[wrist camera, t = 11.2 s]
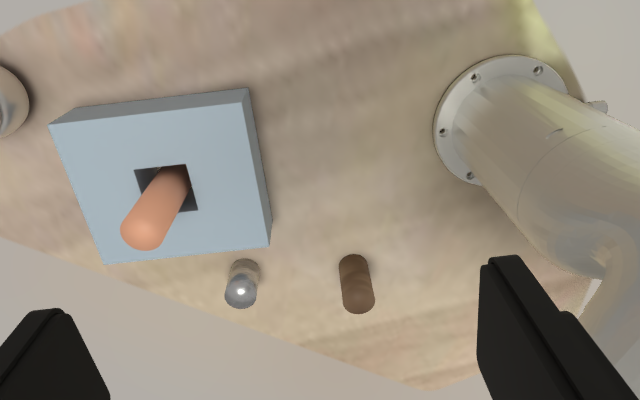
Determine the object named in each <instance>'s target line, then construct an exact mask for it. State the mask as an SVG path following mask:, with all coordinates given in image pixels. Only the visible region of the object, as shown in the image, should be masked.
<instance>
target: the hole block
mask: <svg viewBox="0 0 640 400" xmlns="http://www.w3.org/2000/svg"><path fill="white" fill-rule="evenodd" d="M47 126H48V129H49V131H50V134H51V136H52V139H53V141H54V143H55V146H56V148H57V151H58V153H59V156H60V158H61V161H62V163H63V166H64V168H65V170H66V173H67V175H68V178H69V180H70V183H71V185H72V188H73V190H74V193H75V195H76V197H77V200H78V202H79V205H80V207H81V210H82V212H83V215H84V217H85V220H86V222H87V224H88V227H89V229H90V232H91V234H92V237H93V239H94V242H95V244H96V247H97V249H98V251H99V254H100V256H101V259H102V261H103V264H104V265H107V264H116V263H125V262H134V261H144V260H153V259H162V258H171V257H180V256H189V255H199V254H208V253H217V252H226V251H235V250H245V249H254V248H263V247H269V245H270V237H271V229H272V221H273V220H272V215H271V209H270V204H269V198H268V193H267V187H266V182H265V176H264V171H263V165H262V160H261V155H260V149H259V144H258V138H257V133H256V127H255V122H254V116H253V111H252V105H251V100H250V94H249V89H248V88H241V89H232V90H224V91H215V92H207V93H198V94H190V95H181V96H173V97H164V98H156V99H147V100H138V101H130V102H121V103H113V104H104V105H96V106H87V107H79V108H74V109H72V110H71V111H69V112H67V113H66V114H64V115H63V116H61V117H59V118H58V119H56V120H54V121H53V122H51V123H49V124H48V125H47ZM179 164H186V166H187V169H188V173H189V177H190V181H191V184H192V188H191V189H190V190H189V192H188V194H187V196H186V198H185V200H184V201H183V203H182V205H181V207H180V209H179V211H178V213H177V215H176V217H175V219H174V221H173V223H172V225H171V227H170V228H169V230H168V232H167V234H166V236H165V238H164V240H163V242H162V244H161V245H160V246H159V247H158V248H156V249H154V250H150V251H141V250H137V249H134V248H132V247H131V246H129V245H128V244H127V243H126V242H125V241H124V240H123V238H122V237H121V234H120V226H121V223H122V221H123V220H124V219H125V217H126V216H127V215H128V213H129V212H130V210H131V209H132V208H133V206H134V205H135V203H136V202H137V201H138V199H139V198H140V196H141V195H142V194H143V192H144V191H145V189H146V188H147V187H148V185H149V184H150V183H151V181H152V180H153V178H154V177H155V176H156V174H157V173H158V171H157V167H162V166H171V165H179Z"/></svg>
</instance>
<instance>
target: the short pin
mask: <svg viewBox="0 0 640 400" xmlns="http://www.w3.org/2000/svg"><path fill="white" fill-rule="evenodd" d="M259 274H260V268H259V266H258V264H257V263H256V262H254V261H253V260H250V259H239V260H237V261H235V262H234V263H233V265H232V267H231V271H230V275H229V279H228V283H227V287H226V291H225V300H226V302H227V303H228V304H229V305H230V306H232V307H234V308H238V309H245V308H248V307H250V306H252V305H253V304H254V302H255V300H256V295H257V288H258V281H259Z"/></svg>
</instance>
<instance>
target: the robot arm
mask: <svg viewBox="0 0 640 400" xmlns="http://www.w3.org/2000/svg"><path fill="white" fill-rule="evenodd" d="M535 68H536V70H535V71H534V69H535ZM533 71H534V72H533ZM473 74H475V77H474V78H473V79H471V76H472V75H473ZM607 110H608V106H607V103H606V102H605V101H595V102H588V103H582V101H580V100H578V99H576V98H574V97H572V96H570V95H569V93H568V90H567V88H566V85H565V83H564V81H563V80H562V78H561V77H560V76H559V75H558V73H557V72H556V71H555V70H554V69H552V68H551V67H550V66H548V65H547V64H546V63H543V62H541V61H539V60H537V59H534V58H531V57H527V56H523V55H503V56H496V57H493V58H490V59H487V60H484V61H482V62H480V63H478V64H476V65H474V66H472V67H470V68H469V69H468V70H466V71H465V72H464V73H462V74H461V75H460V76H459V77H458V78H457V79H456V80H455V81H454V82H453V83H452V84H451V85H450V86H449V88H448V89H447V91H446V92H445V94H444V95H443V97H442V99H441V101H440V103H439V105H438V107H437V110H436V114H435V118H434V122H433V139H434V145H435V148H436V151H437V153H438V156H439V157H440V159H441V161H442V162H443V164H444V165H445V166H446V167H447V169H448V170H449V171H450V172H451V173H452V174H454V175H455V176H456V177H458V178H459V179H461V180H463V181H465V182H467V183H470V184H474V185H478V186H483V187H484V188H485V189H486V190H487V191H488V193H489V194H490V195H491V196H492V198H493V199H494V200H495V201H496V202H497V204H498V205H499V206H500V207H501V208H502V210H503V211H504V212H505V213H506V215H507V216H508V217H509V218H510V219H511V221H512V222H513V223H514V224H515V225H516V227H517V228H518V229H519V230H520V232H521V233H522V234H523V235H524V236H525V238H526V239H527V240H528V241H529V242H530V243H531V245H532V246H533V247H534V248H535V249H536V250H537V252H539V253H540V254H541V255H542V256H543V257H544V258H545V259H546V260H547V261H549V262H550V263H552V264H553V265H555V266H556V267H558V268H560V269H562V270H565V271H567V272H569V273H572V274H575V275H578V276H583V277H588V278H593V279H600V280H602V282H601V284H600V286H599V288H598V289H597V291H596V292H595V294H594V295H593V297H592V298H591V300H590V301H589V302H588V304H587V305H586V306H585V308H584V312H583V313H582V314H581V316H580V317H579V318H578V319H577V318H576V317H575V316H574V315H573V314H572V313H570V312H568V311H562V312H560V311H559V309H558V308H557V307H556V305H555V304H554V303H553V301H552V300H551V299H550V297H549V296H548V294H547V293H546V292H545V290H544V289H543V288H542V286H541V285H540V284H539V282H538V281H537V280H536V278H535V277H534V275H533V274H532V273H531V271H530V270H529V269H528V267H527V266H526V265H525V263H524V262H523V260H522V259H521V258H520V257H519V256H518V255H508V256H499V257H491V258H489V261H488V265H482V266H481V269H480V287H479V308H478V330H477V351H476V352H477V361H478V365H479V368H480V371H481V373H482V375H483V378H484V380H485V383H486V385H487V388H488V390H489V392H490V395H491V397H492V399H493V400H640V130H638V129H636V128H634V127H632V126H629V125H627V124H625V123H623V122H621V121H619V120H617V119H615V118H613V117H611V116H609V115H607V114H606V113H607ZM443 128H444V130H443V131H442V132H439V131H440V130H441V129H443ZM469 172H470V173H469ZM468 173H469V174H468ZM0 400H110V393H109V391H108V389H107V387H106V385H105V383H104V381H103V379H102V377H101V375H100V373H99V371H98V369H97V367H96V365H95V363H94V361H93V359H92V357H91V355H90V353H89V351H88V349H87V347H86V345H85V343H84V341H83V339H82V337H81V335H80V333H79V331H78V329H77V327H76V325H75V323H74V321H73V319H72V317H71V316H70V315H69V314H66V313H64V311H63V310H61V309H60V308H52V309H45V310H35V311H31V312H29V313H28V314H27V315H26V316H25V317H24V318H23V320H22V321H21V322H20V323H19V325H18V326H17V327H16V328H15V330H14V331H13V332H12V333H11V334H10V336H9V337H8V338H7V339H6V340H5V342H4V343H3V344H2V345H1V346H0Z"/></svg>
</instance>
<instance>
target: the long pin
mask: <svg viewBox="0 0 640 400" xmlns="http://www.w3.org/2000/svg"><path fill="white" fill-rule="evenodd" d="M191 186H192V184H191V181H190V177H189V173H188V169H187V166H186V164H179V165H171V166H162V167H161V169H160V170H159V171H158V173H157V174H156V176H155V177H154V178H153V180H152V181H151V183H150V184H149V185H148V187H147V188H146V189H145V191H144V192H143V194H142V195H141V196H140V198H139V199H138V201H137V202H136V203H135V205H134V206H133V208H132V209H131V210H130V212H129V213H128V215H127V216H126V217H125V219H124V220H123V221H122V223H121V226H120V234H121V237H122V238H123V240H124V241H125V242H126V243H127V244H128V245H129V246H131V247H132V248H134V249H137V250H141V251H150V250H154V249H156V248H158V247H159V246H160V245H161V244H162V242H163V240H164V238H165V236H166V234H167V232H168V230H169V228H170V227H171V225H172V223H173V221H174V219H175V217H176V215H177V213H178V211H179V209H180V207H181V205H182V203H183V201H184V200H185V198H186V196H187V194H188V192H189V190H190V188H191Z"/></svg>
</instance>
